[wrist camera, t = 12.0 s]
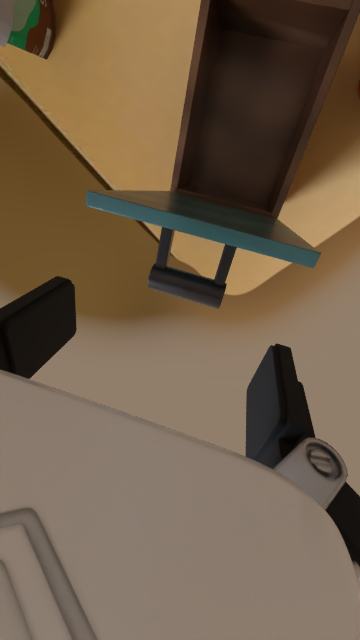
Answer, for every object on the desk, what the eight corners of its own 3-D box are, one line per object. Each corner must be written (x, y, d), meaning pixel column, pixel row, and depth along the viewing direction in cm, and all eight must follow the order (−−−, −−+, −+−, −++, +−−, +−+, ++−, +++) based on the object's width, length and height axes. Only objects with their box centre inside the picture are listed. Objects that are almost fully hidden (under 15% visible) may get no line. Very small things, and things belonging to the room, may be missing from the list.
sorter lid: (86, 189, 13) (83, 282, 16) (321, 253, 12) (277, 341, 15) (169, 190, 28) (160, 238, 31) (277, 219, 27) (259, 265, 30)
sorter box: (217, 20, 27) (206, -32, 20) (334, 43, 26) (366, -4, 19) (184, 189, 36) (169, 194, 29) (270, 211, 35) (275, 222, 28)
